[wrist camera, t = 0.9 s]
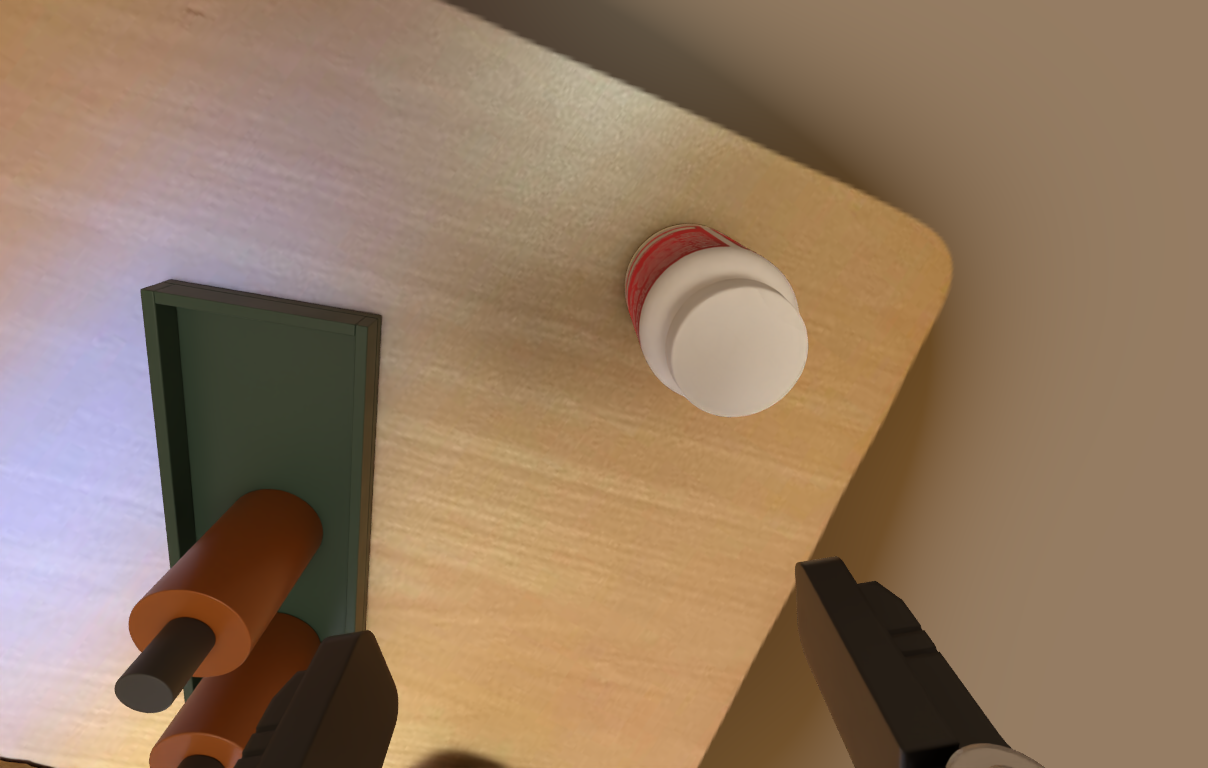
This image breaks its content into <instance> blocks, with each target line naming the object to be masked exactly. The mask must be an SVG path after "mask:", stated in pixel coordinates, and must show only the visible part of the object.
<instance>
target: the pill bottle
mask: <svg viewBox="0 0 1208 768" xmlns="http://www.w3.org/2000/svg"><path fill="white" fill-rule="evenodd" d="M625 298H626V303H627V307H628V310H629V313H630V316H631V319H632V322H633V325H634V328H635V331H636V334H637V337H638V340H639V343H640V346H641V349H642V352H643V354H644V357H645V359H646V361H647V363H648V365H649V367H650V368H651V370H652V371H653V373H654V374H655V375H656V377H657V378H658V379H659V380H660V381H661V382H662V383H663V384H664V385H665V386H667V387H668V388H669V389H671V390H672V391H674V392H676V393H678V394H680V395H682V396H684V397H686V399H688V400H689V401H690V402H691V403H692V404H693V405H695V406H696V407H698V408H699V409H701V410H703V411H705V412H707V413H710V414H713V415H717V416H723V417H741V416H747V415H751V414H755V413H758V412H760V411H762V410H765V409H767V408H769V407H770V406H772V405H774V404H775V403H777V402H778V401H779V400H781V399H782V398H783V397H784V396H785V395H786V394H787V393H788V392H789V391H790V390H791V389H792V387H793V386H794V385H795V383H796V382H797V380H798V379H799V377H800V375H801V373H802V371H803V369H804V366H805V363H806V359H807V354H808V336H807V330H806V327H805V324H804V322H803V320H802V318H801V316H800V314H799V309H798V304H797V300H796V296H795V294H794V291H793V289H792V287H791V285H790V283H789V282H788V280H787V279H786V277H785V276H784V275H783V273H782V272H781V271H780V270H779V269H778V268H777V267H776V266H774V265H773V264H772V263H771V262H770V261H768V260H767V259H765V258H764V257H762V256H761V255H759V254H757V253H756V252H754V251H752V250H750V249H748V248H746V247H745V246H743V245H741V244H739V243H738V242H736V241H734V240H732V239H731V238H729V237H727V236H726V235H725V234H723V233H721V232H719V231H717V230H715V229H712V228H709V227H706V226H703V225H698V224H680V225H675V226H671V227H668V228H665V229H663V230H660V231H659V232H657V233H655V234H654V235H652V236H651V237H650V238H648V239H647V240H646V241H645V242H644V243H643V244H642V245H641V246H640V247H639V249H638V250H637V251H636V253H635V254H634V256H633V258H632V259H631V262H630V264H629V266H628V269H627V273H626V278H625Z"/></svg>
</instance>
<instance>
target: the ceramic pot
mask: <svg viewBox="0 0 1208 768" xmlns="http://www.w3.org/2000/svg"><path fill="white" fill-rule="evenodd" d="M0 768H36V767H31V766H30V765H28V764H26V763H14V762H5V761H2V760H0Z"/></svg>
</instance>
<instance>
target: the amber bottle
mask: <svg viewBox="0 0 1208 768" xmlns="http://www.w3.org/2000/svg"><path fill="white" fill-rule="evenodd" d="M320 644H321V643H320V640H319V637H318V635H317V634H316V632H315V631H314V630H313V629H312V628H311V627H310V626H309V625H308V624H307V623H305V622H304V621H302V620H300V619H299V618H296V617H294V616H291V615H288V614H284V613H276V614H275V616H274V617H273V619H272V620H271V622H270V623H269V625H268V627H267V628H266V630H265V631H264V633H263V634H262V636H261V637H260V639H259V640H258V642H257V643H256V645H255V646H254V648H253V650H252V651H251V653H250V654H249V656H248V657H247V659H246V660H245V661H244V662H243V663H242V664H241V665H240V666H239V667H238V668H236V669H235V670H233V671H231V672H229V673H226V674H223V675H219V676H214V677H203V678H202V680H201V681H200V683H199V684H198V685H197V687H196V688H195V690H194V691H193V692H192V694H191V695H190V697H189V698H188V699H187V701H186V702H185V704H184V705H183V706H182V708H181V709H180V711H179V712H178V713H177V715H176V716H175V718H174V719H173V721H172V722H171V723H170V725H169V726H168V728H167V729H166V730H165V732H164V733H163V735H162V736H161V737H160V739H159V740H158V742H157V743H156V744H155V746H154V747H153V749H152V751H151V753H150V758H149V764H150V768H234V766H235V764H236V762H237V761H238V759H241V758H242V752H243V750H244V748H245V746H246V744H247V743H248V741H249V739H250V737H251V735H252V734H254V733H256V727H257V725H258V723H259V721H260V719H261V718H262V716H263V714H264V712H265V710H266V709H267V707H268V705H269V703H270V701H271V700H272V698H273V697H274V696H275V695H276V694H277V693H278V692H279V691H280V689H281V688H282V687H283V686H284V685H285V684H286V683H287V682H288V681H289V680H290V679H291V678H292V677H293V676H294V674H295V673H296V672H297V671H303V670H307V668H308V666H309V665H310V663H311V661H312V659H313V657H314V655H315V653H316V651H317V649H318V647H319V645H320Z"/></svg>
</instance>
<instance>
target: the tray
mask: <svg viewBox="0 0 1208 768" xmlns="http://www.w3.org/2000/svg"><path fill="white" fill-rule="evenodd" d="M141 300H142V309H143V318H144V328H145V337H146V346H147V355H148V365H149V374H150V383H151V393H152V402H153V411H154V421H155V430H156V439H157V448H158V458H159V467H160V476H161V486H162V495H163V504H164V513H165V523H166V532H167V541H168V551H169V560H170V569H171V568H172V567H173V566H174V565H175V564H176V563H177V562H178V561H179V560H180V559H181V558H182V557H183V556H184V555H185V554H186V552H187V551H188V550H189V549H190V548H191V547H192V546H193V545H194V544H195V543H196V542H197V541H198V540H199V539H200V538H201V537H202V536H203V535H204V534H205V533H206V532H207V531H208V530H209V529H210V528H211V527H212V526H213V525H214V524H215V523H216V522H217V521H218V520H219V519H220V517H221V516H222V515H223V514H224V513H225V512H226V511H227V510H228V509H229V508H230V507H231V506H232V505H233V504H234V503H235V502H236V501H237V500H238V499H239V498H241V497H242V496H243V495H245V494H247V493H250V492H252V491H256V490H262V489H275V490H281V491H285V492H288V493H291V494H293V495H295V496H297V497H299V498H301V499H302V500H304V501H305V502H306V503H307V504H309V505H310V506H311V507H312V508H313V509H314V511H315V512H316V513H317V515H318V517H319V519H320V521H321V524H322V528H323V538H322V542H321V544H320V546H319V548H318V550H317V551H316V553H315V554H314V556H313V557H312V559H311V560H310V562H309V564H308V565H307V567H306V568H305V570H304V571H303V573H302V574H301V576H300V577H299V579H298V580H297V582H296V583H295V585H294V587H293V588H292V590H291V591H290V593H289V594H288V596H287V597H286V599H285V600H284V602H283V603H282V605H281V607H280V608H279V610H278V611H277V613H284V614H288V615H291V616H294V617H296V618H299V619H300V620H302V621H304V622H305V623H307V624H308V625H309V626H310V627H311V628H312V629H313V630H314V631H315V632H316V634H317V635H318V637H319V640H320V643H321V642H322V641H323V640H324V639H325V638H326V637H329V636H334V635H340V634H347V633H353V632H359V631H365V628H366V609H367V589H368V570H369V550H370V531H371V511H372V492H373V472H374V453H375V433H376V414H377V394H378V375H379V355H380V336H381V315H375V314H370V313H364V312H358V311H352V310H346V309H340V308H334V307H328V306H323V305H317V304H311V303H305V302H299V301H293V300H287V299H281V298H276V297H270V296H264V295H258V294H252V293H246V292H240V291H234V290H228V289H223V288H217V287H211V286H205V285H199V284H193V283H187V282H181V281H176V280H167V281H164V282H161V283H158V284H155V285H152V286H149V287H146V288H142V289H141ZM202 678H203V677H191V678H190V680H189V681H188V682H187V684H186V685H185V686H184V688H183V690H184V699H185V702H186V701H187V699H188V698H189V697H190V695H191V694H192V692H193V691H194V690H195V688H196V687H197V685H198V684H199V683H200V681H201V680H202Z"/></svg>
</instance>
